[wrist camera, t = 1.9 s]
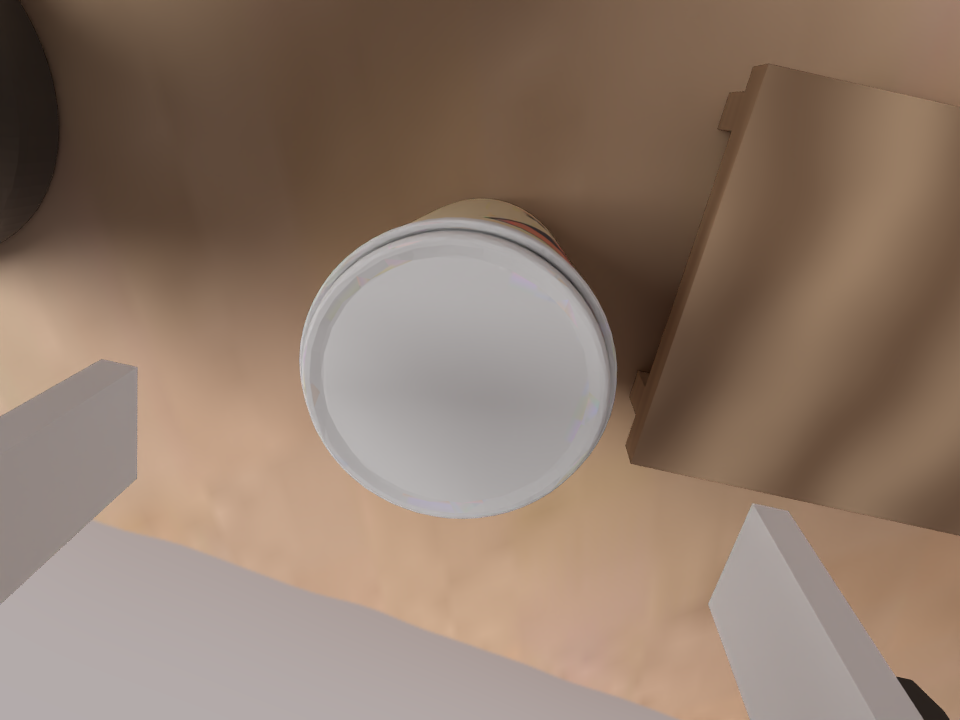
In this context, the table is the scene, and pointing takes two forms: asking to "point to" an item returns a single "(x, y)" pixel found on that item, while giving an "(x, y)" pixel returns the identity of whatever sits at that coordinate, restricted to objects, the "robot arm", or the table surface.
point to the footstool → (820, 307)
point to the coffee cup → (459, 363)
